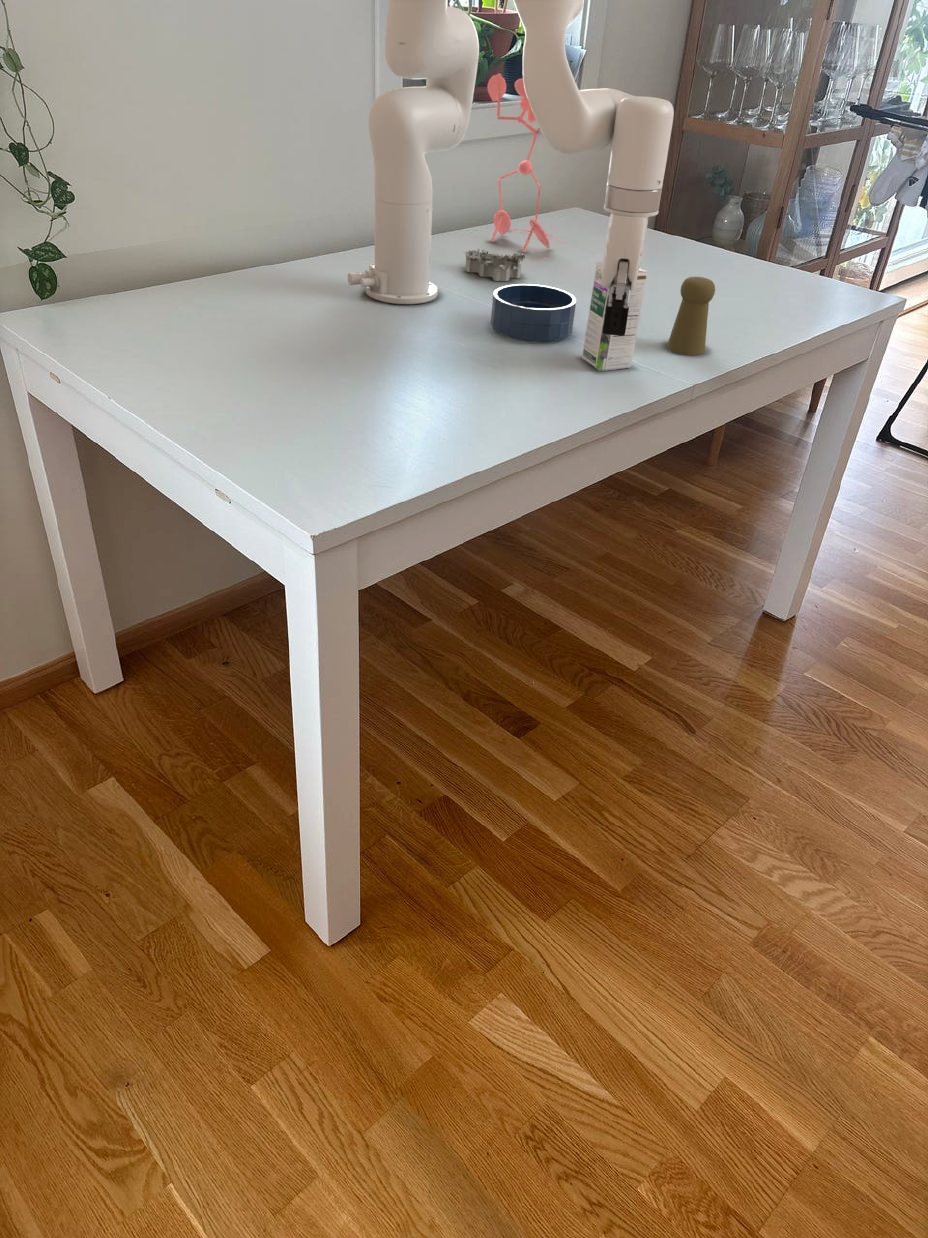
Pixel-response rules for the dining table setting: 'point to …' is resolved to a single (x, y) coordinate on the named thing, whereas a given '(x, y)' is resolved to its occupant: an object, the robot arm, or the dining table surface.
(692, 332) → the olive brown pawn
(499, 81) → the figurine
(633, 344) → the syrup box
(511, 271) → the egg carton
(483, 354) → the dining table surface
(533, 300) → the bowl
